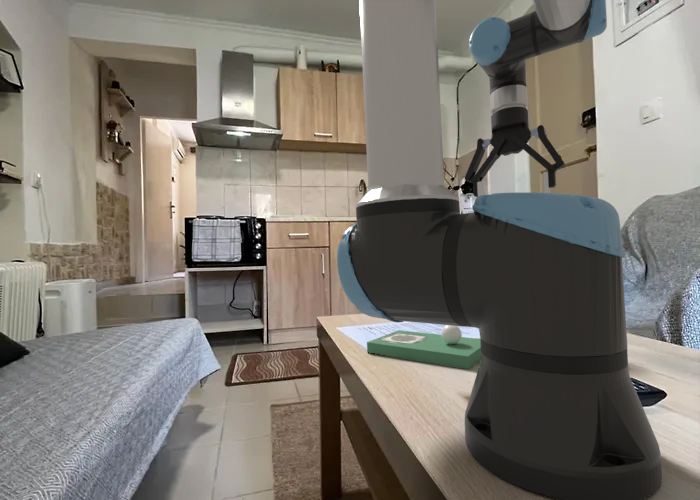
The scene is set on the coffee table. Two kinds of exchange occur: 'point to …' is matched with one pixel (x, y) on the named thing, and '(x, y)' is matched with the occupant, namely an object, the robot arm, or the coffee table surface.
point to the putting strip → (427, 348)
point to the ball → (451, 334)
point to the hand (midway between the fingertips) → (513, 207)
